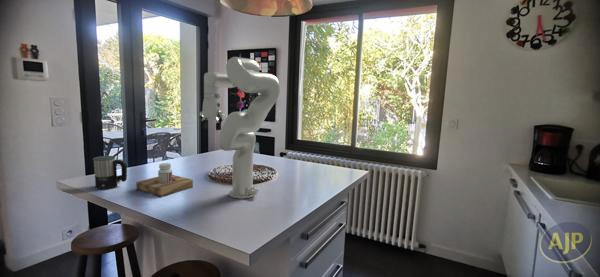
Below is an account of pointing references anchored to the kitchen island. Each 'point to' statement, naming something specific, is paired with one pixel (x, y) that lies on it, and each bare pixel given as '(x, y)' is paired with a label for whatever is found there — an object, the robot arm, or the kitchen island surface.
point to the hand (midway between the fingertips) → (211, 129)
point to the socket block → (164, 186)
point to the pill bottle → (165, 173)
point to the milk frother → (108, 172)
